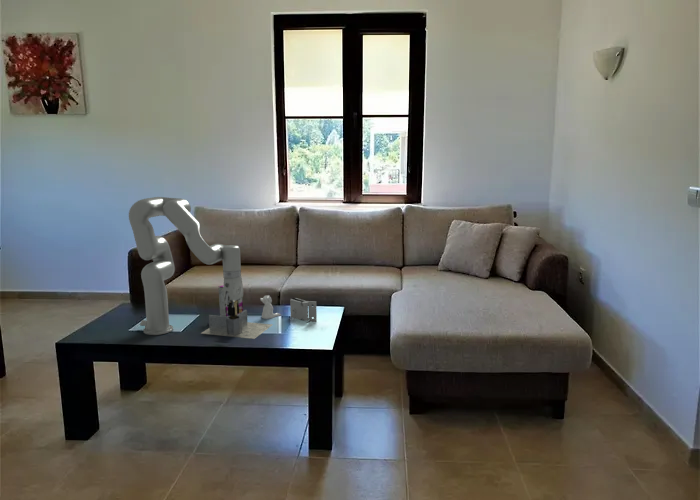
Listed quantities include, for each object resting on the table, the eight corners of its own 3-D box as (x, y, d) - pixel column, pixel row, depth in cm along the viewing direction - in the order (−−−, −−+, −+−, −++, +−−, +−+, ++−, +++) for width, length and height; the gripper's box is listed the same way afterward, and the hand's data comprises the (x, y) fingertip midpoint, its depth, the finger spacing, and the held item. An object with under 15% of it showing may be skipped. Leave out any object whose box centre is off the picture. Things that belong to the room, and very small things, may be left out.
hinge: (317, 321, 259) (317, 301, 257) (310, 324, 255) (310, 304, 253) (293, 317, 266) (293, 297, 264) (287, 320, 262) (286, 300, 260)
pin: (229, 321, 238) (228, 299, 236) (232, 319, 241) (231, 298, 239) (235, 322, 237) (234, 300, 235) (238, 320, 240) (237, 298, 238)
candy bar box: (236, 313, 272) (235, 281, 269) (243, 315, 269) (242, 283, 266) (219, 318, 264) (217, 286, 261) (226, 320, 261) (224, 287, 258)
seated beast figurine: (281, 317, 266) (280, 293, 264) (274, 322, 258) (274, 298, 256) (263, 315, 269) (262, 292, 267) (256, 320, 261) (255, 296, 258)
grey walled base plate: (200, 335, 239) (199, 318, 238) (222, 322, 258) (221, 305, 257) (254, 341, 232) (253, 323, 231) (273, 327, 251) (272, 309, 250)
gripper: (231, 278, 226) (232, 320, 230) (248, 270, 242) (249, 310, 245) (214, 277, 228) (216, 319, 232) (233, 269, 244) (234, 308, 247)
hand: (233, 314), depth 238 cm, fingers closed on pin, 3 cm apart
